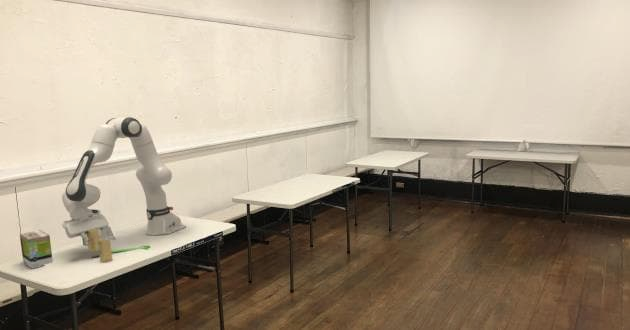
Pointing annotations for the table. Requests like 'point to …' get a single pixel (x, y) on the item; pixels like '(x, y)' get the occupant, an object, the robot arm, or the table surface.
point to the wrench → (130, 249)
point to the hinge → (103, 235)
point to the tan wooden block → (105, 250)
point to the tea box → (36, 248)
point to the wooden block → (93, 239)
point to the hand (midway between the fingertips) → (93, 239)
